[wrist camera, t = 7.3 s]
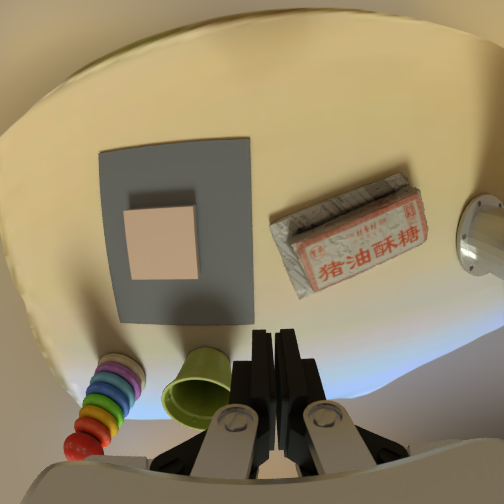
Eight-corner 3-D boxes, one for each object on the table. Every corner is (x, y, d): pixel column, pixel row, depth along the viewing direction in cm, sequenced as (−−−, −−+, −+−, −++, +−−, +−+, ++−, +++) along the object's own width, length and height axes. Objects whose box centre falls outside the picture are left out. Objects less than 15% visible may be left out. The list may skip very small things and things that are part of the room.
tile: (192, 206, 30) (123, 210, 30) (198, 279, 32) (131, 279, 32) (196, 204, 32) (130, 208, 31) (200, 272, 34) (137, 273, 34)
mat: (249, 139, 30) (249, 138, 30) (254, 323, 36) (254, 324, 36) (99, 153, 30) (98, 153, 30) (121, 321, 36) (120, 322, 35)
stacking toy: (91, 354, 37) (33, 439, 19) (131, 346, 37) (77, 444, 19) (116, 392, 39) (75, 479, 21) (156, 387, 39) (122, 486, 21)
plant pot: (229, 328, 36) (225, 370, 28) (251, 380, 39) (252, 425, 30) (164, 343, 37) (147, 384, 28) (191, 392, 39) (182, 434, 31)
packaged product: (420, 170, 27) (438, 251, 29) (399, 169, 32) (418, 241, 34) (270, 231, 28) (303, 314, 31) (266, 222, 33) (296, 296, 36)
